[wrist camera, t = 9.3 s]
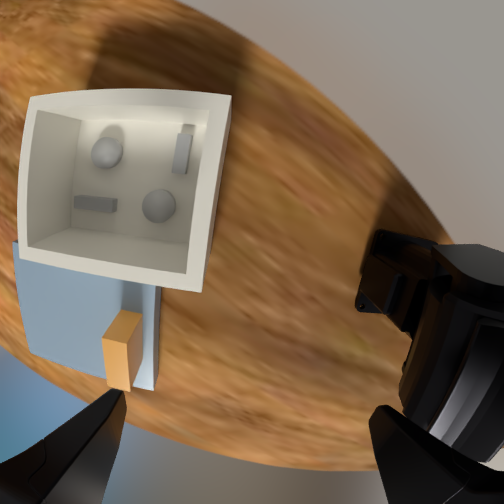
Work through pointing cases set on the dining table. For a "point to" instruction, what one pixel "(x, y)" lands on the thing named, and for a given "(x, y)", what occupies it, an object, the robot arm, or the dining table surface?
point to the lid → (91, 322)
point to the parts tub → (123, 182)
